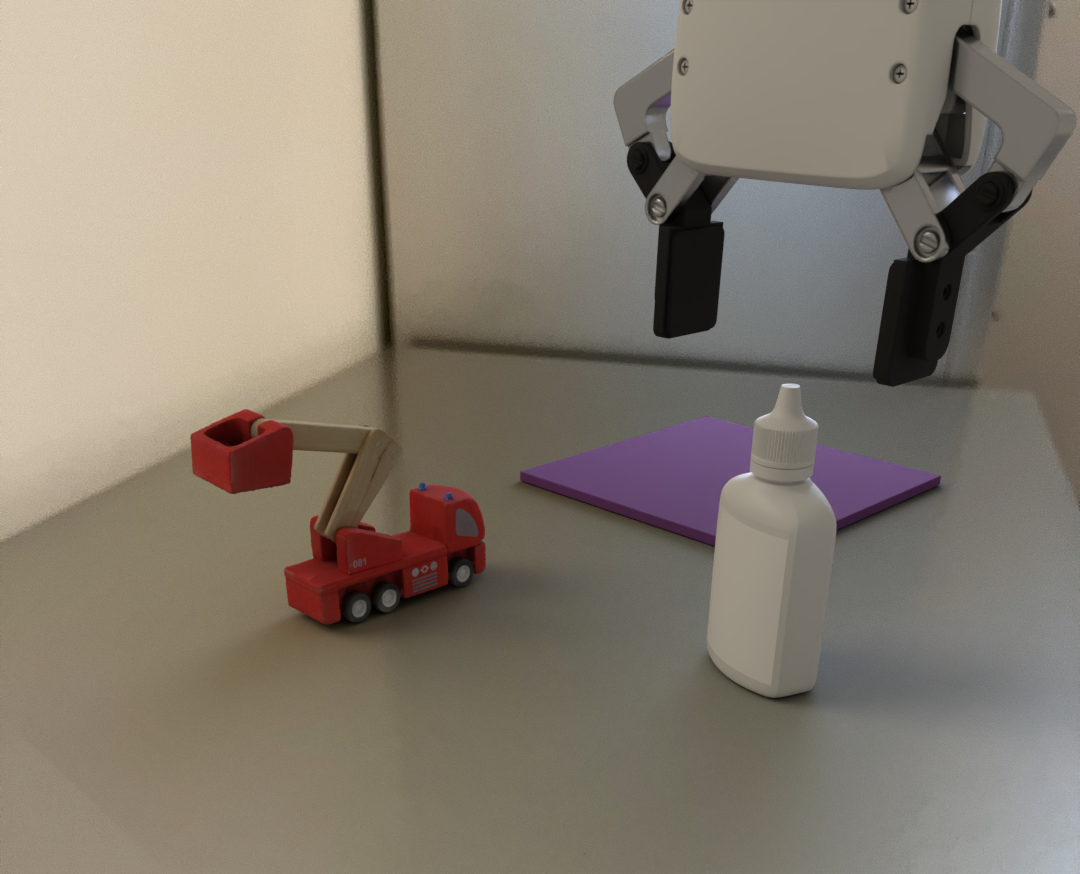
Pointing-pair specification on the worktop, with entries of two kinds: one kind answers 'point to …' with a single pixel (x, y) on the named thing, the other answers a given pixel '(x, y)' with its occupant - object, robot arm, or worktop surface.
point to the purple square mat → (713, 477)
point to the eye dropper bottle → (773, 559)
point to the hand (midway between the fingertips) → (787, 354)
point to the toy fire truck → (348, 514)
